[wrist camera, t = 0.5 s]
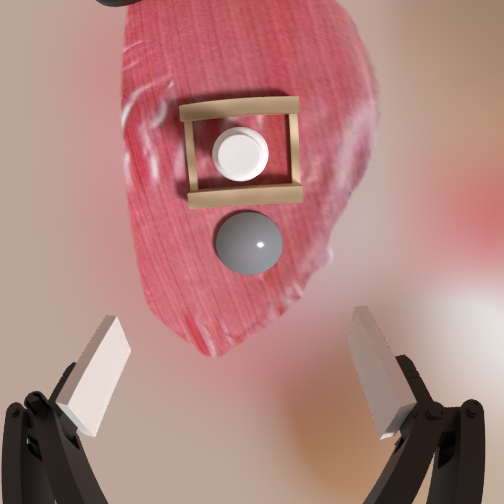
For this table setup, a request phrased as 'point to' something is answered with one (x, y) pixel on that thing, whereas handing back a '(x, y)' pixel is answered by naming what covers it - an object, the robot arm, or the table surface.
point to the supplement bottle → (240, 153)
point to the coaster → (249, 243)
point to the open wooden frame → (246, 192)
